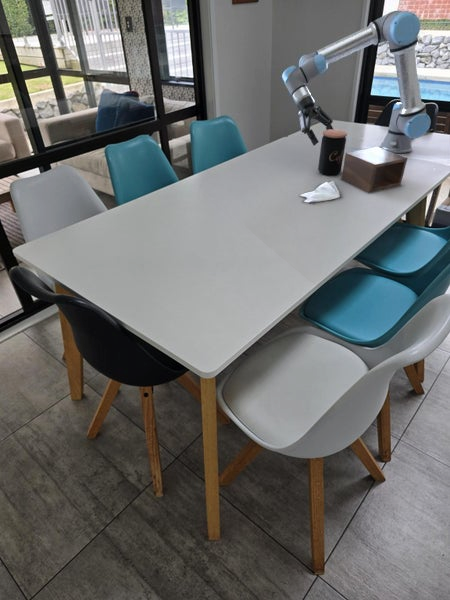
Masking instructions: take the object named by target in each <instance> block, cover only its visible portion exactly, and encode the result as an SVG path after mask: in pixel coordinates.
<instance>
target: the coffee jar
mask: <svg viewBox="0 0 450 600" xmlns="http://www.w3.org/2000/svg"><path fill="white" fill-rule="evenodd" d="M347 135H348V132H347V131H345V130H342V129H334V128H333V129H331V130H326V129H325V130H323V131H322V137H321V144H320V151H319V157H318V158H319V160H318V166H317V170H318V172H319V174H321V175H324V176H328V177H330V176H332V177H334V176H338V175H340V173H341V172H342V169H343V163H344V157H345V149H346V144H347V138H346V137H347Z"/></svg>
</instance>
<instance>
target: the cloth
mask: <svg viewBox="0 0 450 600" xmlns="http://www.w3.org/2000/svg"><path fill="white" fill-rule="evenodd" d="M299 196H300V197H304V198H306V199H305V200H304V201H303V202H304V203H307V204H308V203H311V204H312V203H318V202H319V203H320V202H324V201H330V200H334V199H338V198H340V197H341V196H340V191H339V189H338V187H337V186H336V183H335V181H334V180H332V181H330V182H328V181H325V182H324V183H320V184H319V186H318V187H316V188H315V189H314V190H312V191H307V192H305V193H302V194H299Z"/></svg>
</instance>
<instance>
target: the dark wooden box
mask: <svg viewBox="0 0 450 600" xmlns="http://www.w3.org/2000/svg"><path fill="white" fill-rule="evenodd" d="M407 161H408V157H405V156H403V155H401V154H399V153H392V152H390V151H387V150H384V149H381V147H379V146H375V147H370V148H363V149H358V150H352V151H346V152H345V153H344V159H343V165H342V171H341V172H342V173H341V179H340V180H341V181H343V182H345V183H348V184H350V185H351V186H354V187H355V188H357V189H359V190H362V191H364V192H366V193H367V194H370V193H375V192H379V191H384V190H387V189H391V188H396V187H400V186H402V181H403V178H404V174H405V169H406V166H407Z"/></svg>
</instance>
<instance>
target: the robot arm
mask: <svg viewBox="0 0 450 600" xmlns="http://www.w3.org/2000/svg"><path fill="white" fill-rule="evenodd" d="M420 31H421V21H420V18H419V16H418V15H417V14H416V13H414V12H412V11H410V10H393V11H390V12H388V13H387V14H386V13H385V14H384V15H383V16H381V17H379V18H377V19H375V20H373V21H370V23H369V25H368V26H366V27H364V28H361V29H360V30H358V31H355V32H354V33H351V34H349V35H347V36H345V37H343V38H341V39H338V40H337V41H334V42H332V43H330V44H328V45H326V46H324V47H322V48H320V49H318V50H316V51H313V52H311V53H308V54H307V53H306V54H304V55H302V56H301V57H300V59H299V62H298V67H297V66H295V65H291V66H289V67H287V68H286V69H285V70H284V71H283V73H282V75H281V78H282V80H283V83H284V85H285V87H286V89H287V91H288V92H289V94H290V95H291V97H292V100H293V102H294V104H295V105H296V107H297V109H298V111H299V112H297V116H298V118H299V126H300V131H301V133H303V135H307V137H308V139H309V140H310V142H311V143H312V146H316V145H317V144H318V143H319V140H318V138H317V136H316V135H315V133H314V131H313V129H311V123H312V122H311V121H312V120H316V121H318V122H320V123H321V124H322V125H323V126H325V130H331V129H334V127H333V125H332V124H333V122H334V120H333V119H332V118H331V117H330V116H329V115H328V114H327V113H326V112H325V111H324V110H323V109H322V107H321V106H320V105H317V107H316V105H315V103H316V102H315V99H314V98H313V96H312V95H311V92H310V90H309V89H308V86H307V85H306V84H308V83H310V82H311V81H312V80H314V79H315V78H318V77H319V76H320V75H322V74H323V73H325V72H326V71H327V70H328V67H329V66H328V65H331V64H332V63H335V62H336V61H339V60H341V59H344V58H345V57H348V56H350V55H352V54H355V53H357V52H358V51H360V50H363V49H365V48H367V47H369V46H371V45H374V46H377V45H379V44H382V43H388V48H389V53H390V54H392V55H393V58H394V64H395V71H396V79H397V84H398V92H399V99H400V102H396V103H394V104H393V108H392V110H391V116H390V120H389V124H388V128H387V129H388V130H387V133H386V135H385V138H384V139H383V141H382V143H381V145H380V148H381V149H384V150H387V151H390V152H392V153H395V154H407V153H409V152H411V151H412V139H418V138H420V137H423V136H424V135H425V134H426V133H430V132H433V131H434V129H433V128H431V129H430V127H431V122H432V121H431V118H430V116H429V115H428V114H427V108H426V103H425V102H423V101H422V99H421V98H422V97H421V88H420V80H419V70H418V63H417V55H416V46H417V45H418V44H419V36H418V35H419V33H420Z"/></svg>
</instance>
